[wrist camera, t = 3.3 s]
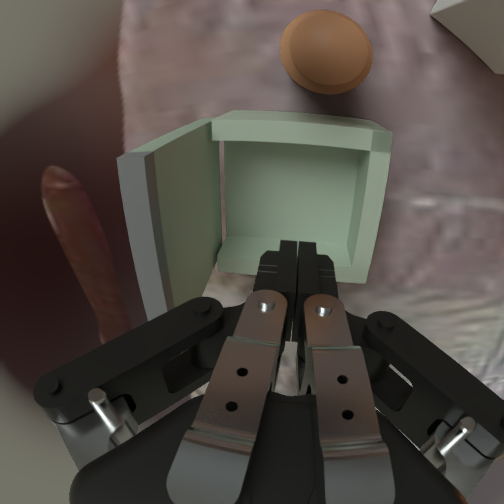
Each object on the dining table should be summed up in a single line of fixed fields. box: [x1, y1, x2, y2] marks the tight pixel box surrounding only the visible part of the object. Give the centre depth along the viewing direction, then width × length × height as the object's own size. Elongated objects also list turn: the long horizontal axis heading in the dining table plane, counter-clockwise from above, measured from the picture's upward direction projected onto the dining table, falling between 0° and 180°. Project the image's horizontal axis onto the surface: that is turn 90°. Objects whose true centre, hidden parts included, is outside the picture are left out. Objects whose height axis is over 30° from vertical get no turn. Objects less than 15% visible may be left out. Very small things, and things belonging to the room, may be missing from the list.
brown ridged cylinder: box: [280, 10, 372, 95], centre depth 15 cm, size 5×5×8 cm
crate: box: [212, 110, 393, 284], centre depth 21 cm, size 10×10×6 cm
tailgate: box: [117, 118, 222, 356], centre depth 17 cm, size 1×10×11 cm, turn 0°
